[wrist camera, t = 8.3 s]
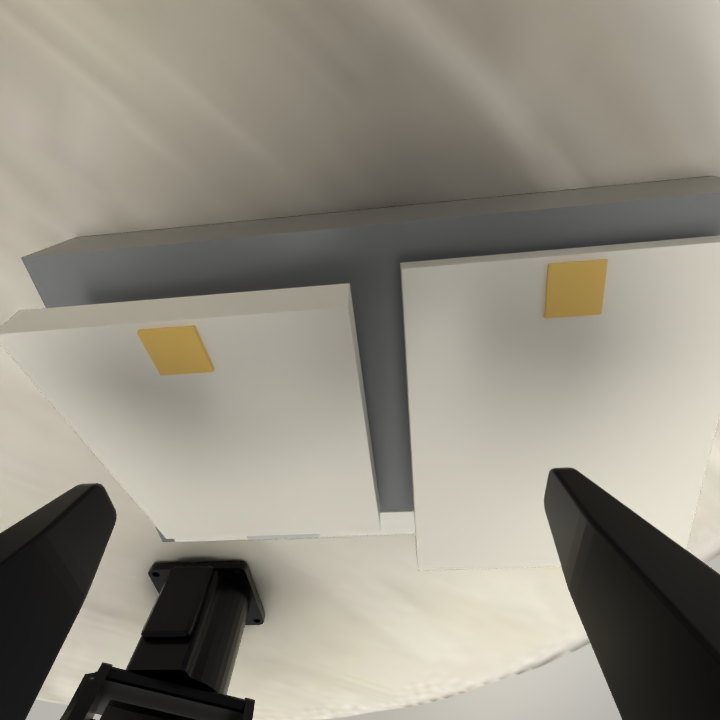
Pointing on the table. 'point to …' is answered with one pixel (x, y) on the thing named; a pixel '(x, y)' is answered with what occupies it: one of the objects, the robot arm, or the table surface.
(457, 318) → the rocker right
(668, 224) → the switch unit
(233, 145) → the table surface
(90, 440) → the rocker left
